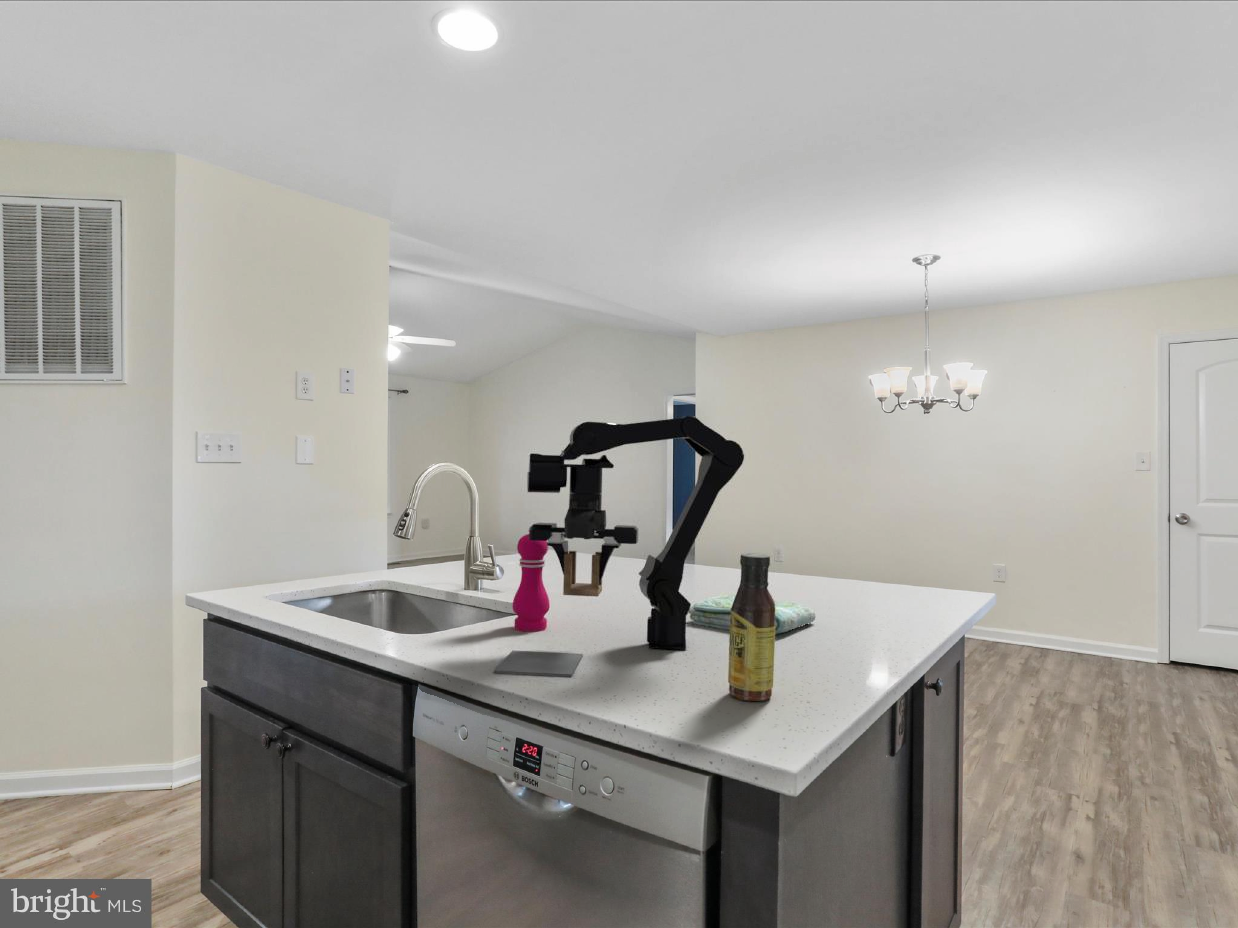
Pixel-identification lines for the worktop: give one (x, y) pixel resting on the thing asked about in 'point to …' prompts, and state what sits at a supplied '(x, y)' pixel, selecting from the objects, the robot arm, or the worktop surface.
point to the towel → (719, 613)
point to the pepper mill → (531, 587)
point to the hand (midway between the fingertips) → (583, 582)
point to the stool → (570, 577)
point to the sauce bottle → (752, 632)
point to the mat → (539, 663)
